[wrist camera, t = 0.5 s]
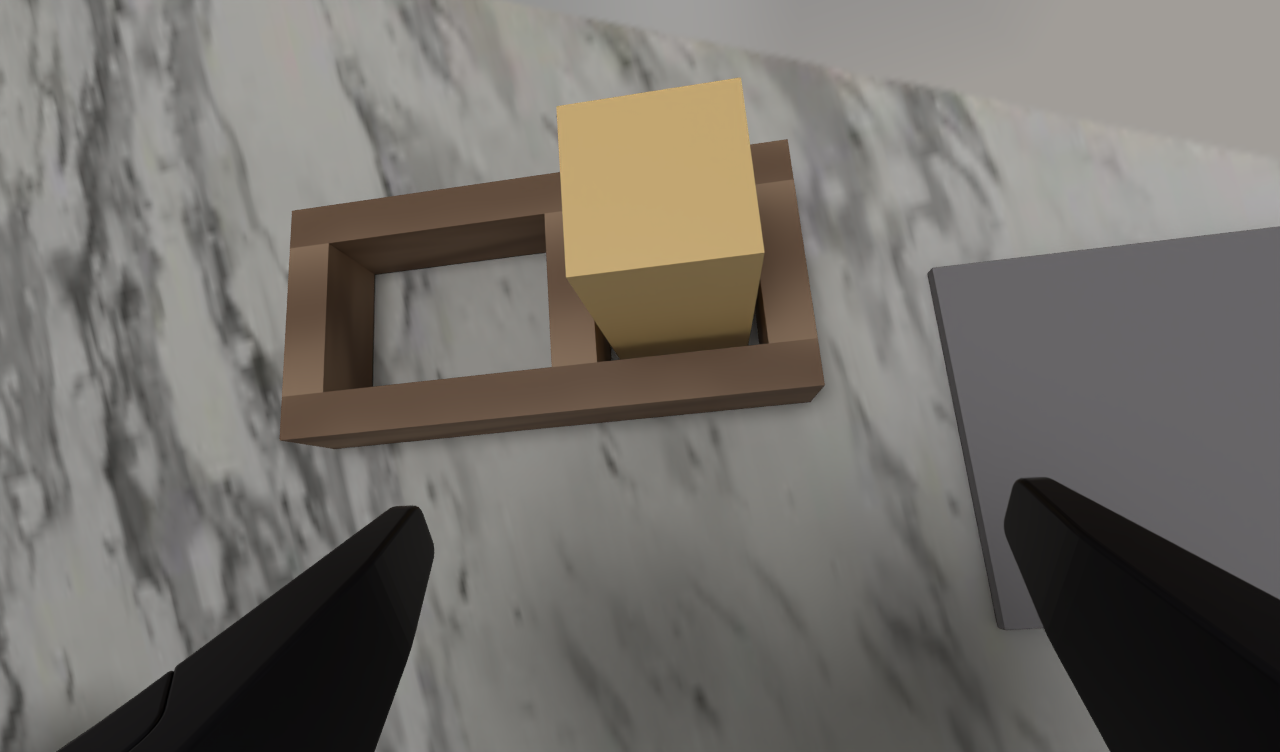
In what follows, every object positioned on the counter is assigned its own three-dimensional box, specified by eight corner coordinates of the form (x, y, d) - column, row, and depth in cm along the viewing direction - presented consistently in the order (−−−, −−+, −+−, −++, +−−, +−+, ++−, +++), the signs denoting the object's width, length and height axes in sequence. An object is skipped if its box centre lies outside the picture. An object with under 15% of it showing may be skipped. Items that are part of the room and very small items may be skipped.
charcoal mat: (1424, 601, 18) (1444, 604, 17) (997, 626, 19) (1005, 629, 19) (1294, 229, 21) (1308, 223, 20) (927, 273, 22) (932, 267, 21)
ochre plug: (746, 353, 22) (764, 252, 13) (624, 367, 23) (565, 277, 14) (732, 240, 23) (740, 77, 14) (616, 255, 24) (556, 106, 15)
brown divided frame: (810, 402, 21) (824, 385, 18) (334, 448, 23) (279, 440, 20) (778, 185, 23) (787, 139, 20) (341, 245, 25) (292, 210, 22)
